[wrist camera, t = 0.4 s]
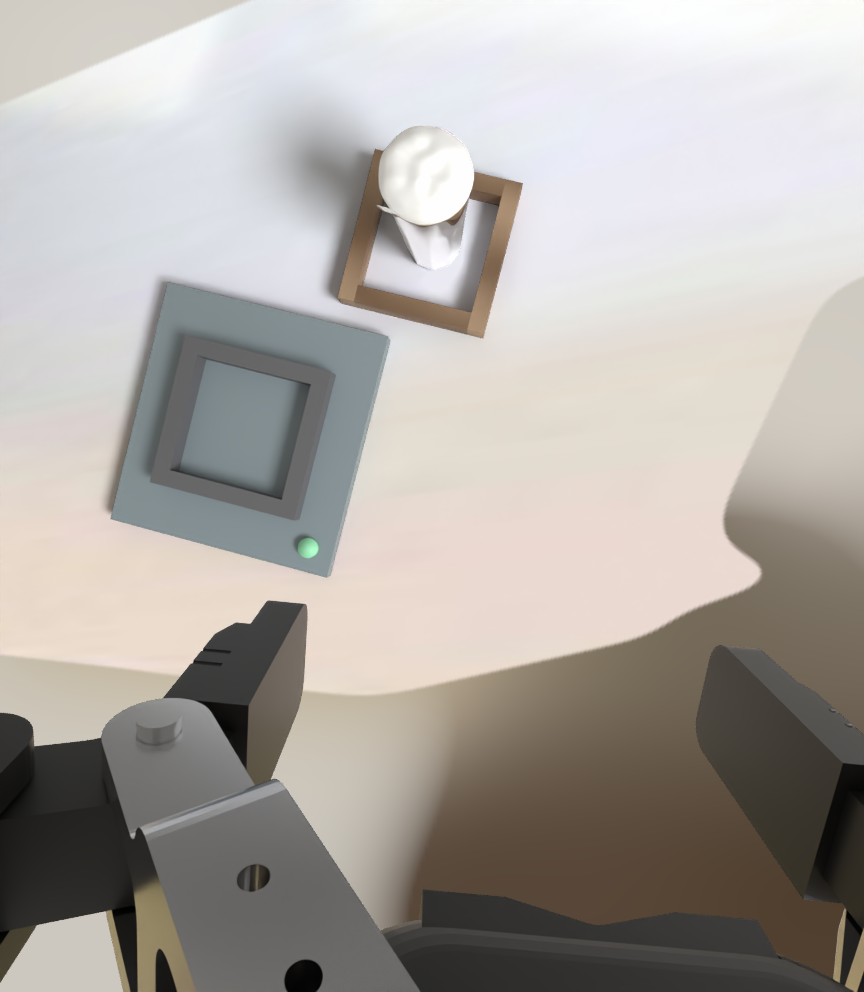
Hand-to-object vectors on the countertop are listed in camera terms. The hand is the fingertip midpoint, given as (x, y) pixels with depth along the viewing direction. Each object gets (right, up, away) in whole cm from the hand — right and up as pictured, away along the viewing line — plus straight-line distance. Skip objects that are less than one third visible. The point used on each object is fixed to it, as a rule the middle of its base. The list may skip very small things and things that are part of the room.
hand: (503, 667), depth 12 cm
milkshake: (-2, +18, +25) cm, 31 cm away
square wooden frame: (-2, +18, +25) cm, 31 cm away
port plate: (-13, +7, +26) cm, 29 cm away
